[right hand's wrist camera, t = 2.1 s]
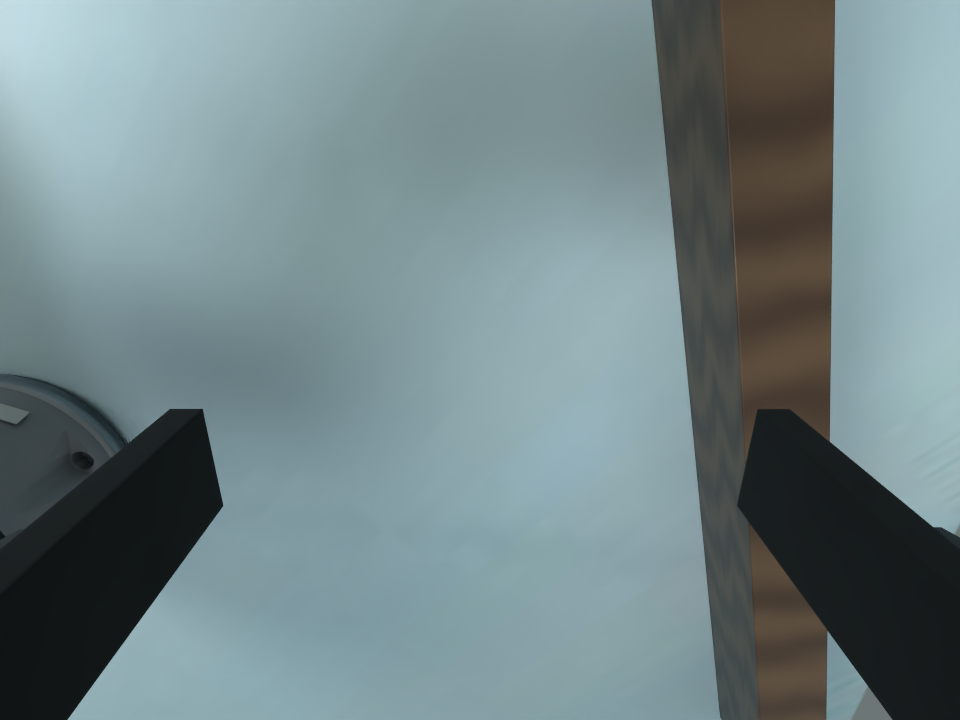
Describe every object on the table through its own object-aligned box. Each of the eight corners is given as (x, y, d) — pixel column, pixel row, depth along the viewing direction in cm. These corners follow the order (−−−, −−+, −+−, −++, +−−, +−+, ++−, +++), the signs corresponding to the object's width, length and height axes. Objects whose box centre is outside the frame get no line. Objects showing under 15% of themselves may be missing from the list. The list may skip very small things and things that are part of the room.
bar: (770, 708, 48) (825, 811, 40) (720, 716, 48) (765, 820, 41) (707, -723, 20) (852, -1268, 12) (586, -679, 20) (654, -1184, 12)
